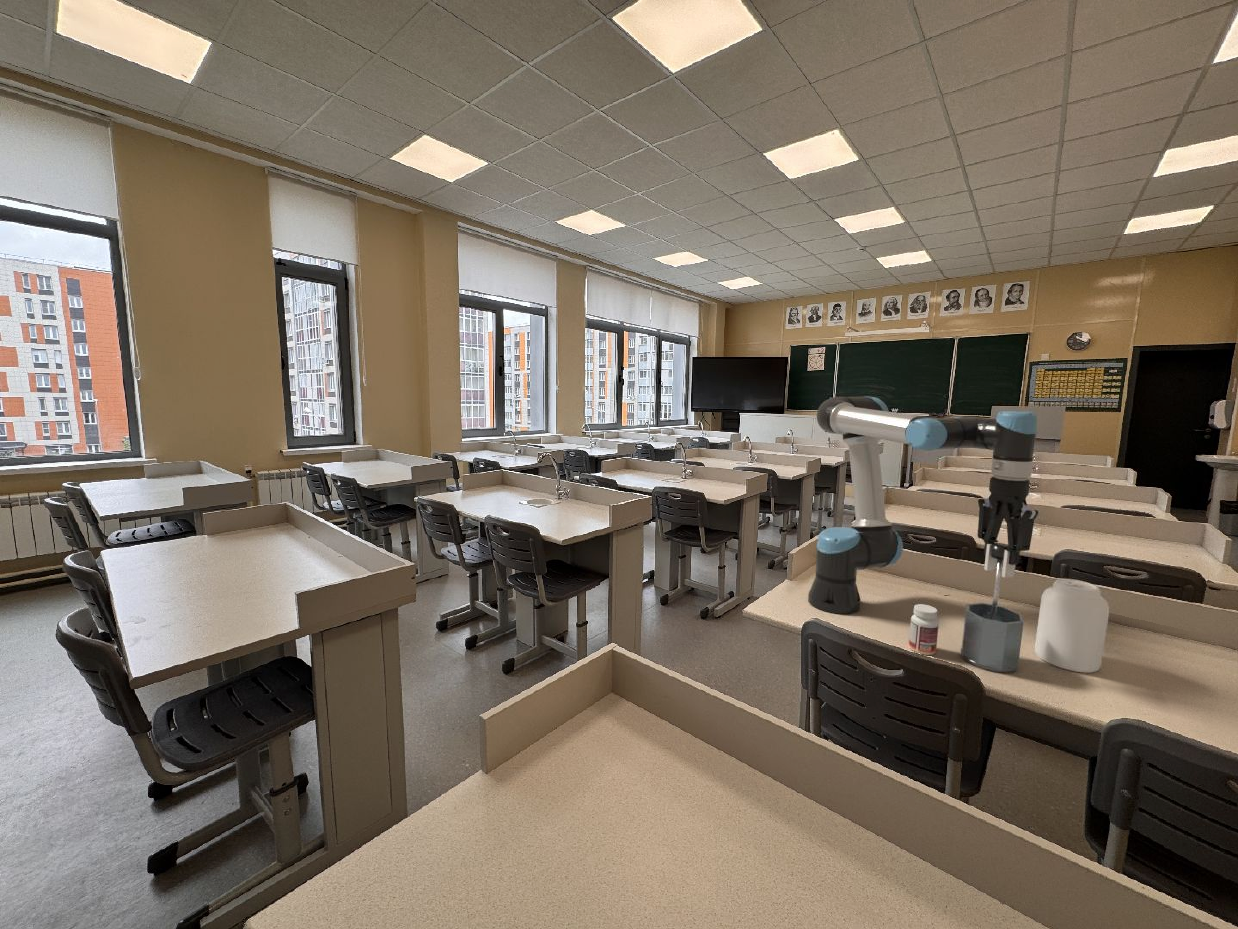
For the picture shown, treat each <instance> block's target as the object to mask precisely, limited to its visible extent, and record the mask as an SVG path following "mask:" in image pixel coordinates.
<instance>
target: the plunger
mask: <svg viewBox="0 0 1238 929" xmlns="http://www.w3.org/2000/svg"><path fill="white" fill-rule="evenodd" d="M1006 549H1008V543H1007V544H1006V543H1003V542H995V543H992V547H991V555H990V556H991V557H993V558H995V559H997V566H996V570H995V580H994V589H993V597H992V612H991V620H995V621H996V613H997V606H999V605H998V603H999V597H1000V596H999V595H1000V587H1001V579H1002V569H1003V561H1004V553H1005V550H1006Z"/></svg>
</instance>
